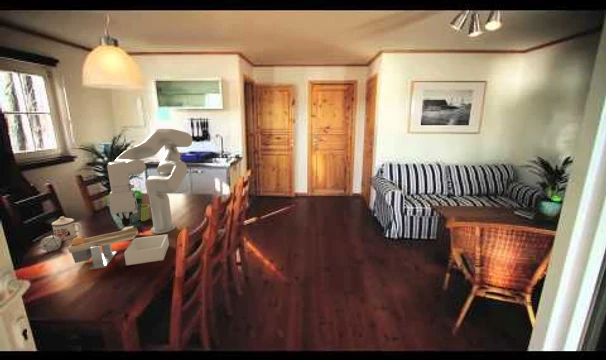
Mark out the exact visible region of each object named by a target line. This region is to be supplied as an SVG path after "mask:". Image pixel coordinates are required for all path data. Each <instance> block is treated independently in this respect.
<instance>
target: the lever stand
mask: <svg viewBox="0 0 606 360" xmlns="http://www.w3.org/2000/svg"><path fill="white" fill-rule="evenodd" d="M111 245H112V244H109V245H104V246H100V245H98V246H91V248H90V249H91V254H92V257H91V259H92V264H91V265H90V266H89V267H88V269H89V270H90V271H91V270H96V269H105V268H107V267H108V265H109V264H110V263H111V261H112V260H113V258H114V257H115V256H116V255H117V251H116V250H115V251H113V250H112V246H111Z"/></svg>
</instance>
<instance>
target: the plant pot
mask: <svg viewBox="0 0 606 360" xmlns="http://www.w3.org/2000/svg"><path fill="white" fill-rule="evenodd" d="M140 205H141V221H140V222H146V221H148V220H149V217H150V215H149V213H150V212H149V211H150V208H151V205H150V204H140Z"/></svg>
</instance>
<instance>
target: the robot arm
mask: <svg viewBox="0 0 606 360" xmlns="http://www.w3.org/2000/svg"><path fill="white" fill-rule="evenodd" d="M192 144H193V137H192V135H191V134H190V133H188V132H186V131H181V130H178V129H174V128H158V129H157V128H156V129H155V130H153V131H152V133H150V134H149V136H147V137H146V138H145V139H144V140H143V141H142V142H141V143H139V144H137V145H135V146H133V147H131V148H128V149H126V150H125V151H123V152H122V153H121V154H119V155H118V156H117V157H116V159H115V160H114V161H111V162H108V163H107V174H108V179H109V186H110V192H109V210H110V214H111V216H116V217H118V218H119V219H120V220H121V223H122V225H123V228H125V227H129V225H131V222H132V221H131V216H132V215H135V213H137V212H138V210H137V207H138V202H137V197H136V194H135V192H134V188H135V185H132V184H131V180H130V176H139V175H141V174H143V173H145V171H146V169H147V168H146V163H145V162H144V161H143V160H144V159H148V158H151V157H154V156H155V155H157V154H158V153H159V152H160V150H162V148H163V147H164V149H165V150H164V151H165V153H164V155H163V157H162V158H161V160H160V162H159V164H158V165H157V168H156V172H157V174H155V175H150V176H148V177H147V178H146V180H145V188H146V191H147V195H148V198H149V205H150V210H151V211H150V212H151V218H152V219H151V220H152V227H151V228H150V232H151V233H152V234H156V235H157V234H160V235H161V234H166V233H169V232H171V231H173V230H175V229H176V224H174V223H173V219H172V212H171V211H172V210H171V203H170V198H169V195H168V194H174V193H177V192H178V191H179V189H180V188H181V185H182V184H183V181H184V179H185V178H186V175H187V172H188V166H187V163H186V162H185V161H182V160H180V159H181V154H180V152H179V150H178V148H189V147H190V146H191V145H192Z"/></svg>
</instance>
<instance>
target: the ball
mask: <svg viewBox="0 0 606 360" xmlns="http://www.w3.org/2000/svg"><path fill="white" fill-rule="evenodd" d="M84 239H85V238H83V237H81V236H75V237H74V238H72V239H71V240H72V241H71V244H73V245H74V246H76V245H81V244H83V243H84Z"/></svg>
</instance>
